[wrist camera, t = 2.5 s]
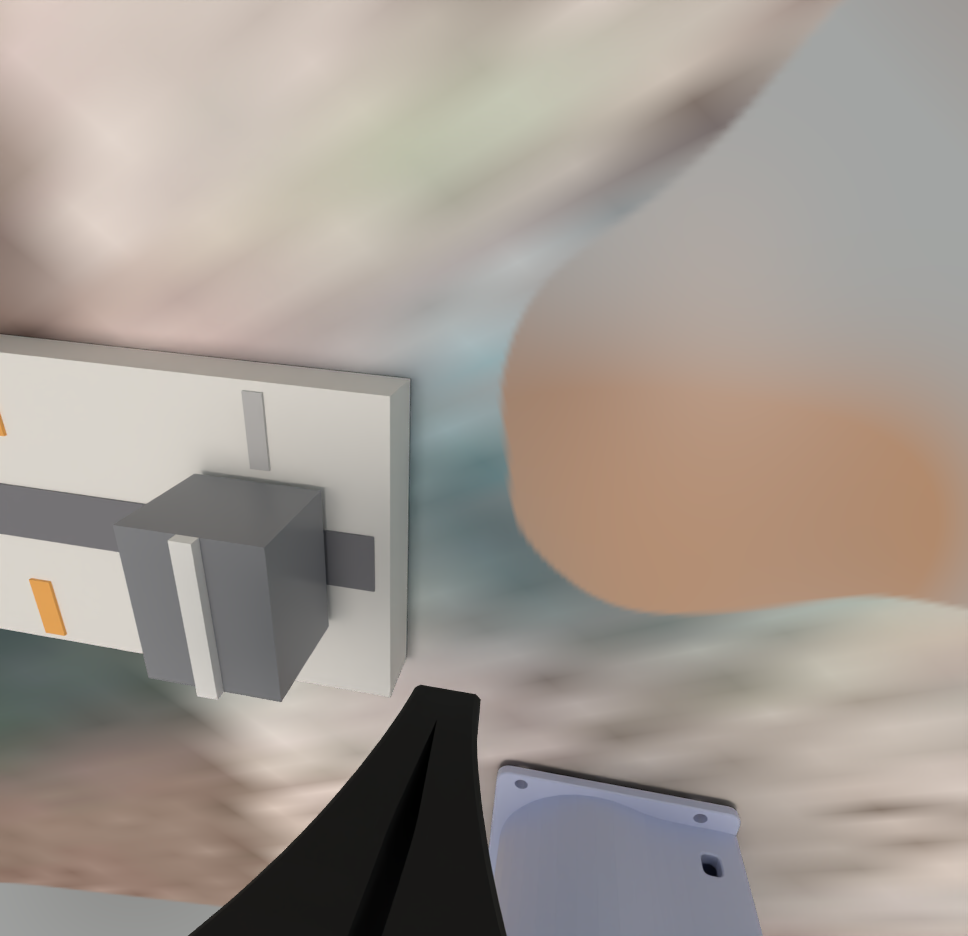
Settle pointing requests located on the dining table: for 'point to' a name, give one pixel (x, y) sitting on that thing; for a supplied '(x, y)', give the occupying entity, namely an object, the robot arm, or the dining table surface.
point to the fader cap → (227, 584)
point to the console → (208, 451)
